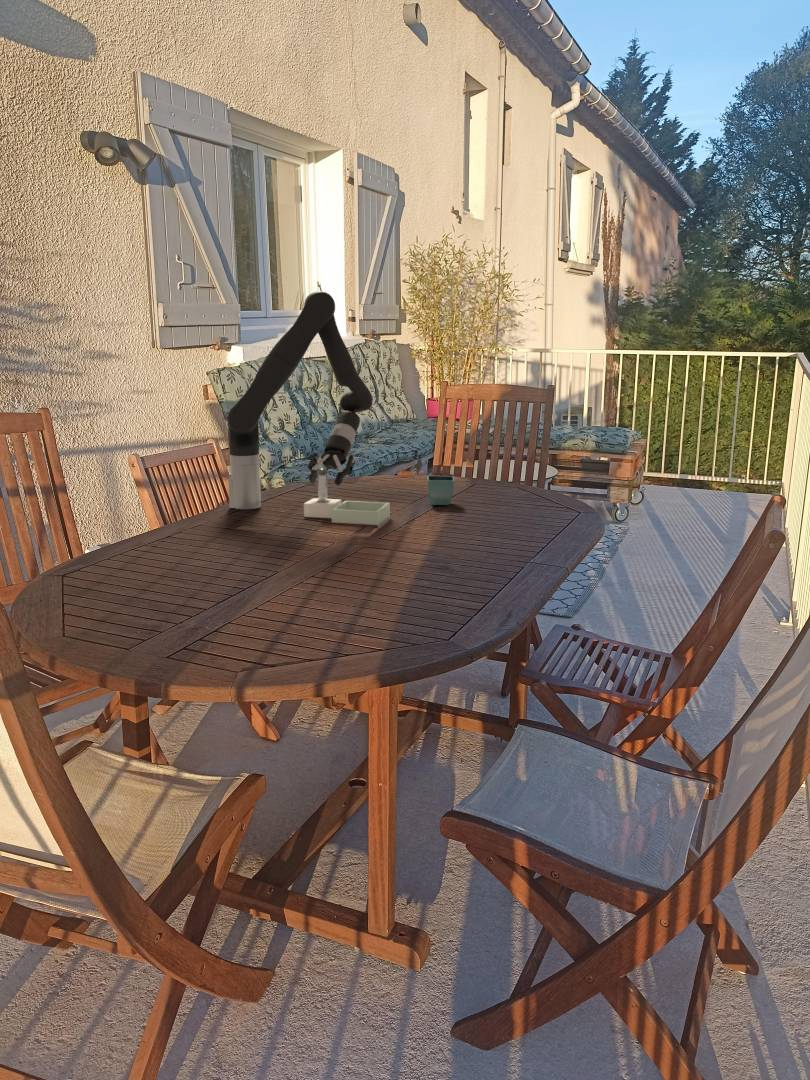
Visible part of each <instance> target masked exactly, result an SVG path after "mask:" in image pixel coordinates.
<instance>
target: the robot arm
mask: <svg viewBox="0 0 810 1080" xmlns="http://www.w3.org/2000/svg"><path fill="white" fill-rule="evenodd" d="M335 312H336V303H335V300H334V298H333V296H332V295H330V293H328V292H326V291H319V290H317V291H313V292H310V293H309V294H308V295H307V296H306V298H305V300H304V305H303V308H302V310H301V312H300V314H299V315H298V317H297V318H296V319H295V321H294V323H293V325H292V326H291V327H290V328H289V329H288V330H287V332H285V334H284V335H282V337H281V338H280V339H279V340H278V341H277V342H276V344H275V345H274V346H273V347H272V349H271V350H270V351H269V352H268V355H267V356H266V357H265V359H264V360H263V362H262V363H261V365H260V367H259V368H258V371H257V373H256V375H255V377H254V379H253V380H252V383H251V384H250V386H249V387H248V389H247V390H246V392H245V393H244V394H243V395H242V397H240V399H239V400H238V401H237V402H236V403H235V404H234V405H233V406H232V407H231V408H230V409H229V411H228V414H227V423H228V427H229V429H228V430H229V431H228V432H229V444H228V445H229V447H228V448H229V449H228V450H229V463H230V464H229V465H230V477H229V478H227V479H228V480H227V481H228V502H229V509H234V508H235V509H234V510H254V509H259V508H261V506H262V499H261V498H262V496H261V472H260V471H261V470H260V469H261V467H260V435H259V434H260V432H259V431H260V430H259V425H260V424H259V420H260V418H261V416H262V414H263V412H264V411H265V409H266V407H267V406H268V405H269V403H270V401H271V400H272V399H273V397H274V396H275V395H277V393H278V392H279V391H280V389H282V387H283V386H284V385H285V384H286V382H288V380H289V379H290V378H291V376H292V375H293V373H294V371H295V370H296V368H297V367H298V366H299V365H300V363H301V361H302V359H303V358H304V355H305V354H306V353H307V351H308V348H309V347H310V345H311V343H312V341H313V340H314V339H315V337H316V336H317V335H318V336H319V337H320V341H321V342H322V344H323V347H324V351H325V353H326V356H327V358H328V362H329V364H330V366H331V367H330V368H331V370H332V372H333V374H334V377H335V380H336V382H337V384H338V386H339V387H345V388H346V387H347V388H349V389H350V391H348V392H345V393H343V395H342V397H341V398H340V400H339V405H338V406H339V407H338V418H337V420H336V422H335V425H334V426H333V428H332V431H331V432H330V435H329V437H328V439H327V442H326V445H325V447H324V451H323V453H322V454H318V453H317V452H314V453H313V455H312V456H311V458H310V461H309V462H308V464H307V466H306V467H307V468H308V470H309V472H310V475H309V477H308V480H309V482H310V484H311V485H314V484H315V483H316V480H317V479H318V473H317V469H318V468H327V469H328V470H337V469H338V472H337V474H336V476H335V479H334V484H335V486H336V487H337V486H338V487H340V485H341V484H342V483H343V480H344V478H345V477H346V476H351V475H352V473H353V470H354V467H355V464H356V460H355V457H354V455H352V454H350V452H351V450H352V446H353V444H354V442H355V438H356V435H357V432H358V428H359V426H360V422H361V419H360V416H359V415H358V413H361V412H365V411H368V410H371V408H372V406H373V399H374V398H373V394H372V393H371V391H370V389H369V388H368V387H367V385H366V383H365V382H364V381H363V380H362V378H361V377H360V375H359V374H358V371H357V368H356V366H355V363H354V361H353V358H352V356H351V355H350V352H349V350H348V348H347V346H346V344H345V342H344V340H343V338H342V336H341V334H340V331H339V328H338V325H337V322H336V318H335ZM345 463H346V465H345V468H344V467H343V465H344V464H345Z"/></svg>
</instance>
